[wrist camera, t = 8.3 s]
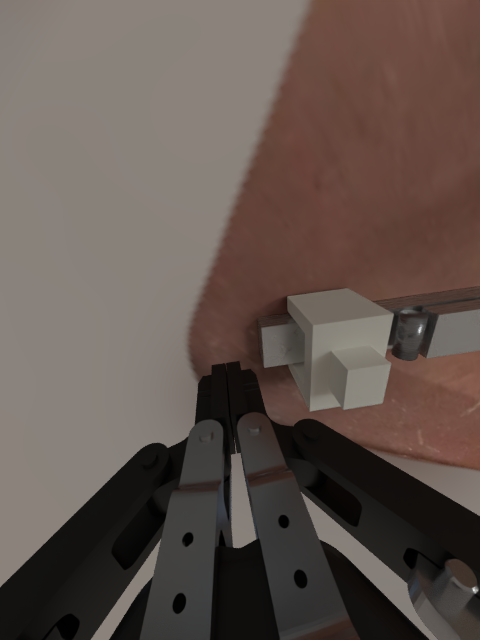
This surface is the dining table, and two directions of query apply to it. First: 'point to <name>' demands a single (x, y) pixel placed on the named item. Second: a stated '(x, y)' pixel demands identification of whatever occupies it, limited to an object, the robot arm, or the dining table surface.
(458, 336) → the bar
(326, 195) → the dining table surface
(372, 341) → the lock slider
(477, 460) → the dining table surface
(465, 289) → the base
